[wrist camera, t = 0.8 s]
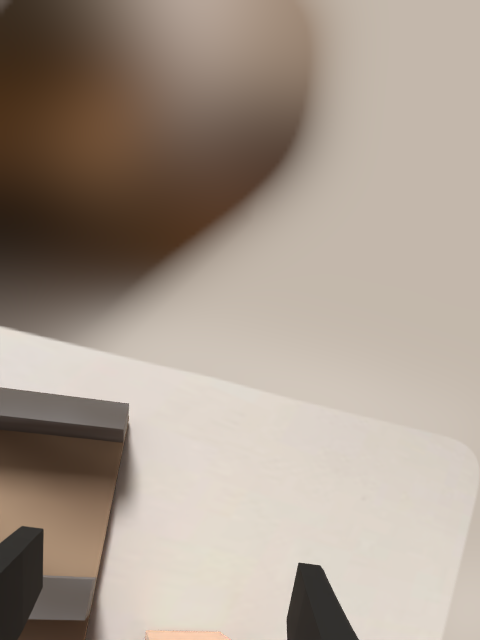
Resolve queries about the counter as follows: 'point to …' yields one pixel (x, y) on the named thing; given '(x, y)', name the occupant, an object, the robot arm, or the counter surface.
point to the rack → (60, 496)
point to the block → (184, 635)
